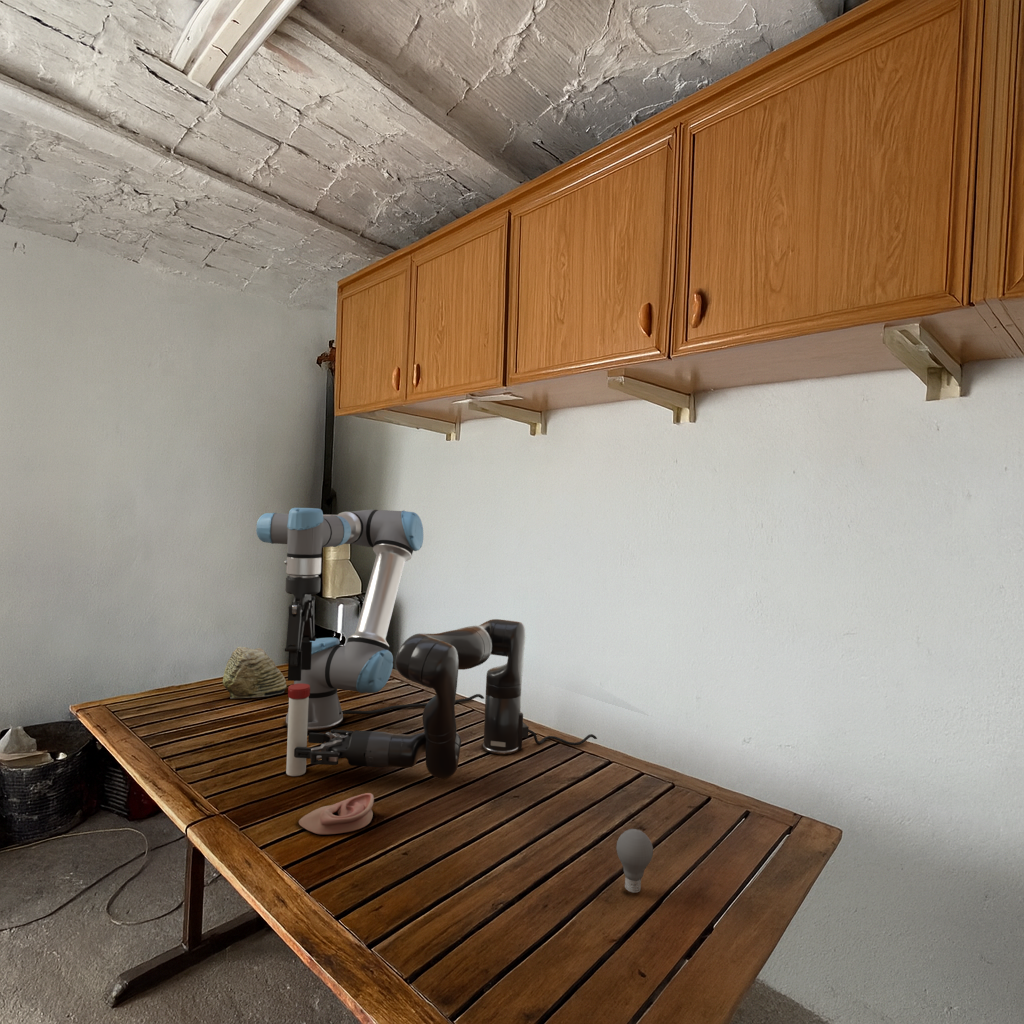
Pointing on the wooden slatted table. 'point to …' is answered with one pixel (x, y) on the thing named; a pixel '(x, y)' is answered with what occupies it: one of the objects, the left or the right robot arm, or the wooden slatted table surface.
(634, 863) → the light bulb
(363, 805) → the anatomical model
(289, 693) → the lid
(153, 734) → the wooden slatted table surface
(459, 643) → the right robot arm
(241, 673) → the fossil
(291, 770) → the white tube
